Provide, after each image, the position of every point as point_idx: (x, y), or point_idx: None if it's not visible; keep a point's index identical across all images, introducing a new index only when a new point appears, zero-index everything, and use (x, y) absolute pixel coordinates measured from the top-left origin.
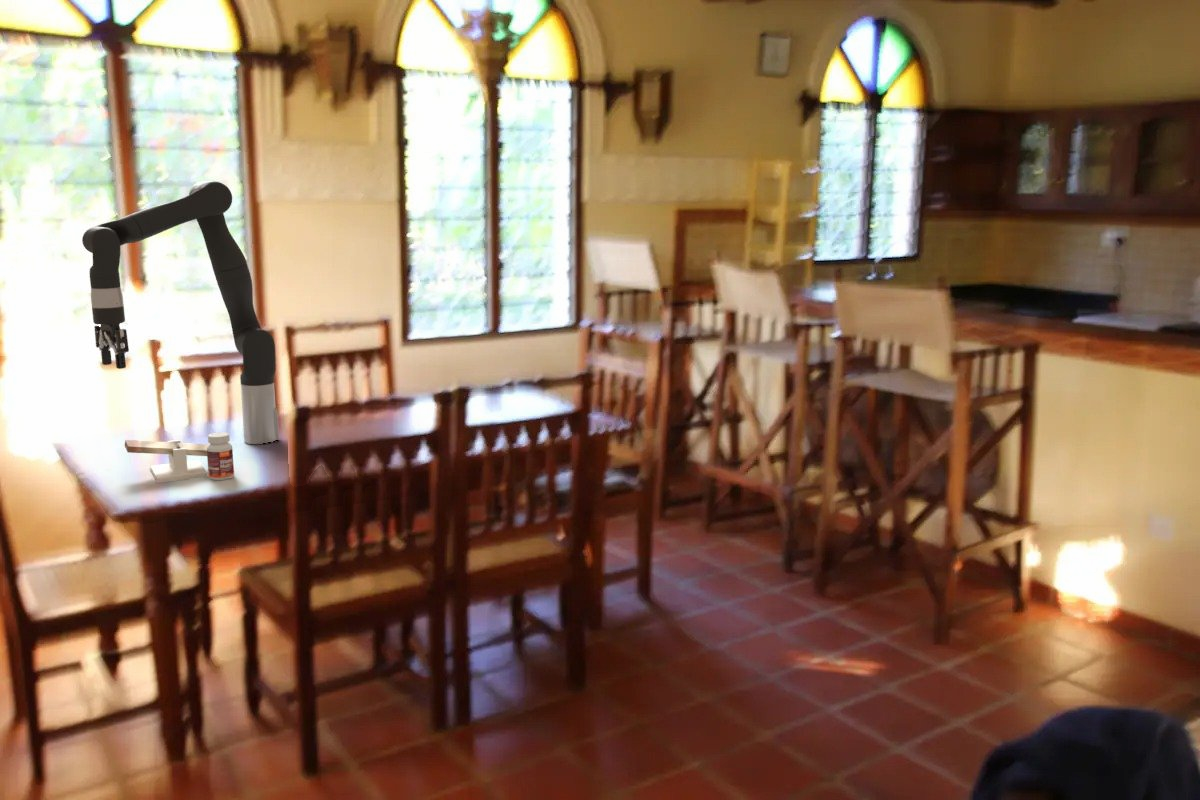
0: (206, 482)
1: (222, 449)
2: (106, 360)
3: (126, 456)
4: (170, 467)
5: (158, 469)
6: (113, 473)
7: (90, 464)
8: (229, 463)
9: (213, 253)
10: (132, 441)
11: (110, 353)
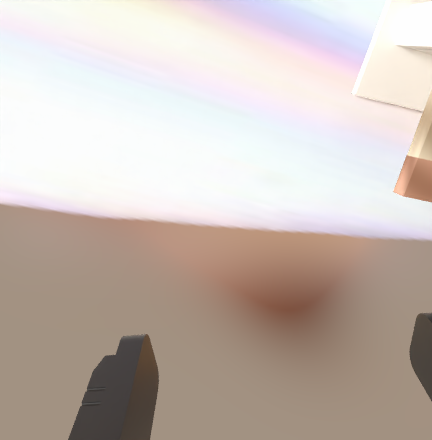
0: None
1: None
2: (149, 391)
3: (160, 98)
4: (423, 53)
5: (412, 91)
6: (315, 181)
7: (190, 197)
8: None
9: None
10: (430, 180)
11: (126, 425)
